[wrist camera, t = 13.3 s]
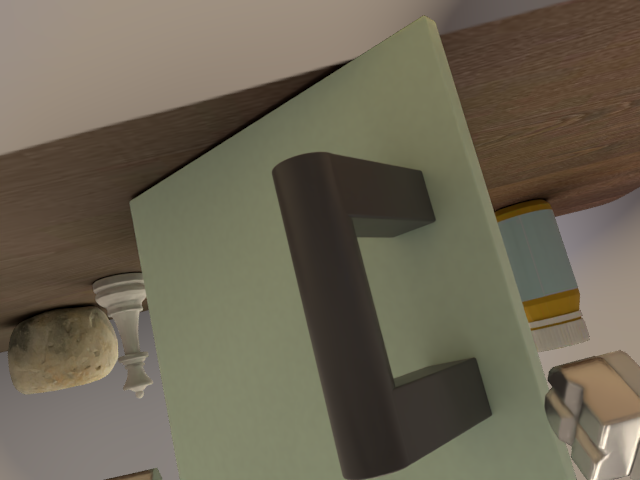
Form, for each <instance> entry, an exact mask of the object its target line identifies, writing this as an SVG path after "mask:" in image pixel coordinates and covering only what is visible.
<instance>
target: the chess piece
mask: <svg viewBox="0 0 640 480" xmlns="http://www.w3.org/2000/svg"><path fill="white" fill-rule="evenodd" d="M93 292H94V293H95V294H97V295H96V297H95V300H96V302H97V303H98V304H99V305H100V306H102V307H104V308H106V309H107V310H108V317H113V319H114V321H115V323H116V325H117V327H118V330H119V333H120V336H121V339H122V343H123V347H124V352H125V356H122V357H120V358H118V361H119V363H123V365H127V366H125V369H128V377H127V380H126V383H125V385H124V387H123V390H129V389H131V390H132V391H134V392H136V397H137V398H141V397H143V395H144V392H143V391H142V390H144V389H145V387H146V386H147V385H150V384H153V381H152V380H151V379H150V378H149V377H148V376H147V374H146V373H145V371H144V368H143V365H145V363H143V361H144V360H145V358H146V357H148V352H140V346H139V339H138V318H139V312H140V311H142V310H143V307H142V301H143V300H144V299H145V298H146V297H147V296H146V291H145V285H144V280H143V274H142V273H126V274H119V275H114V276H110V277H106V278H103V279H100V280H98V281H96V282H95V283H94V284H93Z"/></svg>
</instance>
